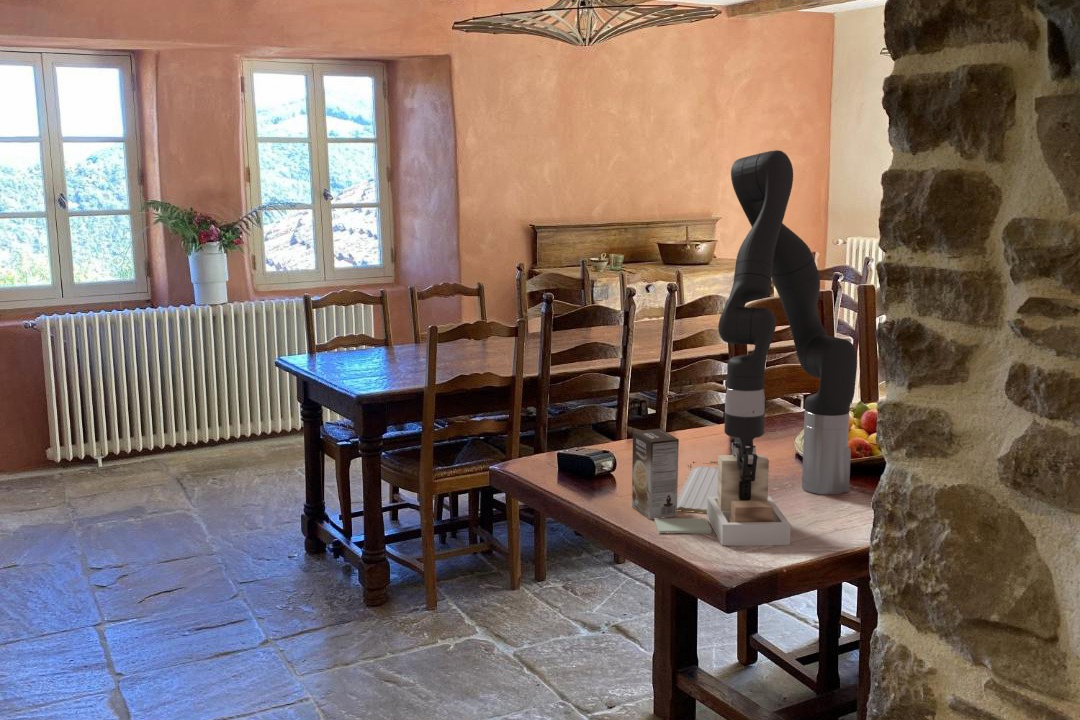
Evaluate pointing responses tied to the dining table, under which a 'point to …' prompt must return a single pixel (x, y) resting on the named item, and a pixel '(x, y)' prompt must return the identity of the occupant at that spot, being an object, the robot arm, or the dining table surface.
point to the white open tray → (748, 527)
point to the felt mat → (683, 525)
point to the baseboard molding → (698, 489)
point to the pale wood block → (730, 481)
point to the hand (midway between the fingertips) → (742, 495)
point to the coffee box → (655, 473)
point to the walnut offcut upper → (751, 511)
